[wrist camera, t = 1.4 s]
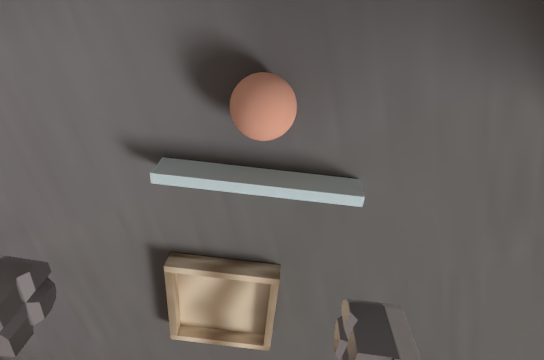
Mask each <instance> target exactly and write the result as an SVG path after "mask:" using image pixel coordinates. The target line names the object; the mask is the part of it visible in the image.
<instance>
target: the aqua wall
mask: <svg viewBox="0 0 544 360" xmlns="http://www.w3.org/2000/svg"><path fill="white" fill-rule="evenodd" d="M150 178H151V183H154V184H163V185H172V186H181V187H189V188H198V189H207V190H216V191H225V192H234V193H243V194H251V195H260V196H269V197H278V198H287V199H296V200H305V201H314V202H322V203H331V204H340V205H349V206H358V207H362V206H363V202H364V199H365V196H364V193H363V189H362V186H361V183H360V180H359V179H353V178H344V177H335V176H326V175H317V174H308V173H299V172H290V171H281V170H272V169H263V168H255V167H246V166H237V165H228V164H219V163H210V162H201V161H192V160H183V159H174V158H165V157H162V159H161V160H160V161H159V162H158V164H157V165H156V166H155V167H154V168H153V170H152V171H151V172H150Z"/></svg>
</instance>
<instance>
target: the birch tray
mask: <svg viewBox="0 0 544 360" xmlns="http://www.w3.org/2000/svg"><path fill="white" fill-rule="evenodd" d="M164 275H165V285H166V295H167V305H168V315H169V325H170V335H171V339H175V340H183V341H192V342H200V343H209V344H217V345H225V346H234V347H242V348H250V349H259V350H267V351H270V344H271V337H272V330H273V322H274V315H275V308H276V301H277V294H278V287H279V279H280V265H276V264H268V263H259V262H250V261H242V260H233V259H224V258H216V257H207V256H198V255H190V254H181V253H173V252H170V254H169V256H168V258H167V260H166V262H165V264H164Z"/></svg>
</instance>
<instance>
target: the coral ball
mask: <svg viewBox="0 0 544 360" xmlns="http://www.w3.org/2000/svg"><path fill="white" fill-rule="evenodd" d="M296 112H297V102H296V97H295V94H294V92H293V90H292V88H291V87H290V85H289V84H288V83H287V82H286V81H285V80H284V79H283V78H281V77H279V76H277V75H275V74H272V73H268V72H259V73H254V74H251V75H249V76H247V77H245V78H244V79H242V80H241V81H240V82H239V83H238V84H237V86H236V87H235V89H234V91H233V93H232V96H231V99H230V113H231V117H232V120H233V122H234V124H235V125H236V127H237V128H238V129H239V131H240V132H242V133H243V134H244V135H245V136H247V137H249V138H251V139H254V140H259V141H268V140H273V139H276V138H278V137H280V136H281V135H283V134H284V133H285V132H286V131H287V130H288V129H289V128H290V127H291V125H292V124H293V122H294V119H295V116H296Z"/></svg>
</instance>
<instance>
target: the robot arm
mask: <svg viewBox="0 0 544 360" xmlns="http://www.w3.org/2000/svg"><path fill="white" fill-rule="evenodd" d="M50 273H51V270H50V267H49V264H48V263H47V262H43V261H36V260H30V259H23V258H17V257H10V256H2V255H0V356H10V357H16V356H17V355H18V353H19V352H20V351H21V349H22V348H23V347H24V345H25V344H26V343H27V341H28V340H29V339H30V337H31V336H32V335H33V334H34V333H33V325H35V324H36V323H38V322H40V321H42V320H43V319H45V318H46V316H47V315H48V313H49V312H50V311H51V309H52V307H53V304H54V301H55V299H56V287H55V284H54V283H53V282H52V281H51V280H50V279H49V278H48V275H49V274H50ZM341 312H342V316H341V317H339V318H338V319H337V322H336V325H335V332H334V349H335V355H336V356H337V357H338V359H339V360H421V358H420V355H419V352H418V349H417V347H416V344H415V341H414V338H413V335H412V333H411V330H410V327H409V324H408V322H407V319H406V316H405V313H404V311H403V308H402V307H401V306H400V305H393V304H385V303H378V302H369V301H361V300H352V299H345V300H344V301H343V303H342V306H341Z"/></svg>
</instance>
